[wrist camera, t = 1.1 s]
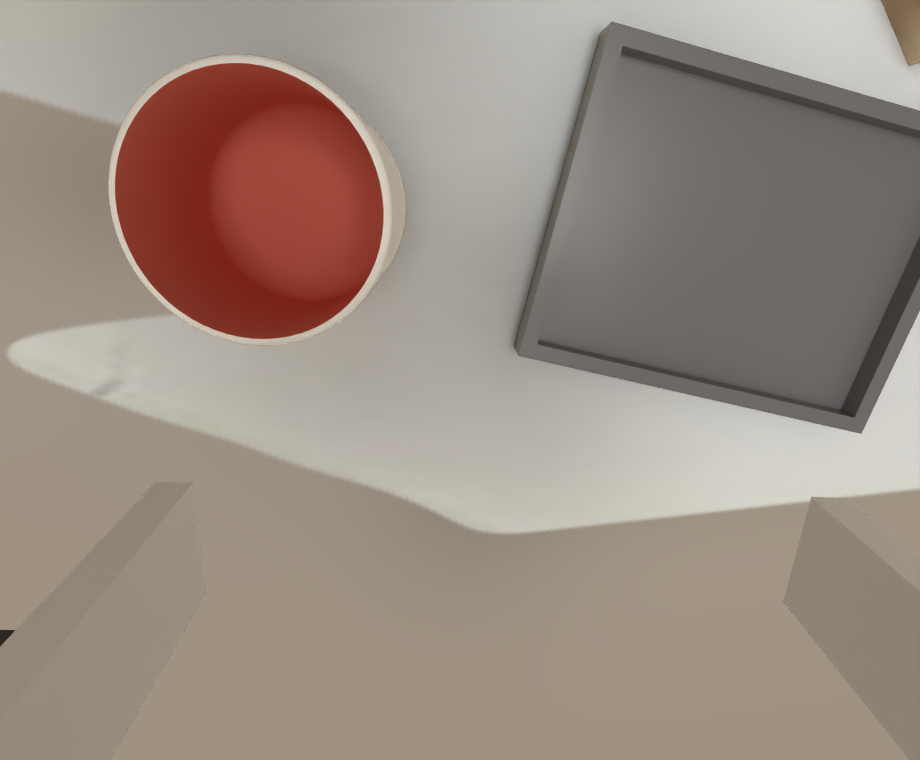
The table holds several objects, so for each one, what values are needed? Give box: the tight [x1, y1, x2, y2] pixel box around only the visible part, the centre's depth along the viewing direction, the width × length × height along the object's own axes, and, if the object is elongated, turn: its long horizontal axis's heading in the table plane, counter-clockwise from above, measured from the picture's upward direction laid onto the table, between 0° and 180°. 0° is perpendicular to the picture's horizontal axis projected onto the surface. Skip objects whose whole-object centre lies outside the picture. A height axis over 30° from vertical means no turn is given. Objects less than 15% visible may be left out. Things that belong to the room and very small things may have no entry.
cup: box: [108, 54, 406, 346], centre depth 26 cm, size 10×10×10 cm
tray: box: [514, 22, 920, 433], centre depth 31 cm, size 20×16×2 cm
